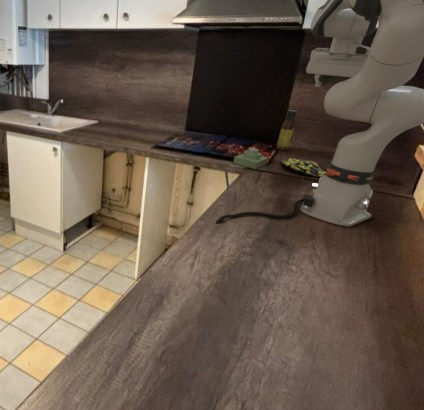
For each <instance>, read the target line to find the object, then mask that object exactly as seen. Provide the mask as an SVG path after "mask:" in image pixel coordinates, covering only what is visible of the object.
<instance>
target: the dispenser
mask: <svg viewBox="0 0 424 410" xmlns="http://www.w3.org/2000/svg"><path fill="white" fill-rule="evenodd" d="M233 158H234V159H233V161H232V162H233V164H236V165H238V166H239V165H240V166H243V167H247V168H250V169H254V170H257V169H259V168H261V167H263V166H267V165H268V162H269V157H267V156H262V153H261V152H259V151H258V154H250V153H248V150H244V151H243V153H241V154H238V155H235V156H234V157H233Z"/></svg>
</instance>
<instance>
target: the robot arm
mask: <svg viewBox="0 0 424 410" xmlns="http://www.w3.org/2000/svg"><path fill="white" fill-rule="evenodd" d="M376 29H377V30H376ZM375 31H376V32H375ZM310 32H311V33H312V34H313V36H314V37H315V38H332V42H331V44H330V47H316V48H314V49H313V50H312V51H311V53H310V55H309V58H310V59H309V61H308V63H307V66H306V69H305V72H306V74H308V75H309V74H311V75H314V81H315V85H314V88H318V89H320V88H322V87H321V86H322V84H323V82H320V78H321V76H333V77H341V78H343V77H344V78H348V79H346V80H343V81H339V82H337V83H335V84H334V85H332V86H331V87H330V88H329V89H328V91H327V92H326V93H325V95H324V99H323V108H324V111H325V113H326V114H327V115H330V116H332V117H334V118H335V117H336V118H339V119H342V120H347V121H355V122H361V123H362V122H363V123H368V124H371V126H370V127H369V128H367V129H366V130H364V131H360V132H354V133H351V134H348V135H345V136H344V137H342V138H340V139H339V141H338V143H337V146H336V148H335V151H334V154H333V157H332V159H331V162H329V164H328V166H327V167H326V170H325V171H326V173H325V174H326V175H325V176H322V177H319V180H318V183H312V185H311V186H312V187H316V188H315V189H313V190H312V191H311V194H307V193H306V194H305V195H304V197H303V198H301V199H299V200H297V201H296V202H295V203H294V205H293V211H292V212H291V213H290V214H272V213H267V212H261V211H244V212H239V213H238V212H237V213H234V214H223V215H222V216H220V217H219V218H218V219H217V221H216V222H215V224H216V225H220V224H221V222H223V220H225V219H232V218H237V217H244V216H261V217H268V218H273V219H288V218H292V217H294V216H295V215H296V214H297V212H298V207H299V205H300V204H301V203H302V204H301V206H300V208H299V211H300V212H301V213H303V214H305V215H307V216H310V217H312V218H314V219H317V220H320V221H324V222H327V223H330V224H334V225H338V226H343V227H349V228H350V227H352V226H355V225H357V224H360V223H362V222H365V221H367V220H369V219H371V218H372V214H371V212H368V210H367V209H368V207H369V204H370V202H371V198H372V196H373V194H374V190H373V188H372V187H371V185H370V184H371V183H372V180H373V178H374V176H375V168H376V166H377V164H378V162H379V160H380V157H381V156H382V154H383V151H384V150H385V148H386V147H387V146H388V144H390V143H391V141H392V140H394V139H396V137H397V136H399V135H401V134H402V133H404V132H406V131H409V130H410V129H413V128H417V127H418V126H421V125H423V124H424V88H420V87H418V86H412V85H405V84H407V83H408V82H409V81H410V80H412V78H413V77H415V75H416V73H417V72H418V70H419V68H420V66H421V63H422V61H423V60H424V0H326V2H324V4H323V5H322V6H320V7H319V8H318V9H317V10H316V12H315V13H314V15H313V16H312V19H311V23H310ZM374 32H375V35H374V37H373V40H372V42H371V45H370V47H369V46H367V45H365V44H362V42H363V40H364V38H366V37H368V36H369V35H371V34H373V33H374Z"/></svg>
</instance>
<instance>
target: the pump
mask: <svg viewBox="0 0 424 410" xmlns="http://www.w3.org/2000/svg"><path fill="white" fill-rule="evenodd" d="M247 151H248V153H250V154H258V152H259V151H260V150H259V149H258V148H254V147H249V148H248V150H247Z"/></svg>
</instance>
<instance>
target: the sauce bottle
mask: <svg viewBox="0 0 424 410" xmlns="http://www.w3.org/2000/svg"><path fill="white" fill-rule="evenodd" d="M297 114H298V111H297V110H294V109H293V110H292V109H288V110H287V115H286V118H285V120H284V121H283V122H282V124H281V128H280V131H279V135H278V139H277V142H276V149H277V150H279V151H288V150H289V149H290V147H291V144H292V140H293V137H294V133H295V130H296V116H297Z"/></svg>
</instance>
